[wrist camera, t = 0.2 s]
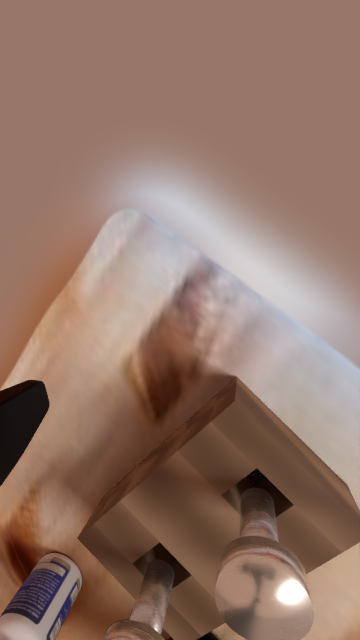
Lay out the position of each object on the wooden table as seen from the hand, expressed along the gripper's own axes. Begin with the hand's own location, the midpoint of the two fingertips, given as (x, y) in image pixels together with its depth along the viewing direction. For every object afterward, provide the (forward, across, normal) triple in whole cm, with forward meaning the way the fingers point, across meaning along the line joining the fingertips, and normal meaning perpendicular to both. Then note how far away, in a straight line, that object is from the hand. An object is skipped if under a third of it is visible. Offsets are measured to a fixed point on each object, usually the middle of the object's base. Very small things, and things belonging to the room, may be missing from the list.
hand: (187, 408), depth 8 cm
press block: (+11, +1, +18) cm, 22 cm away
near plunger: (+8, -3, +14) cm, 16 cm away
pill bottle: (+8, +16, +31) cm, 36 cm away
